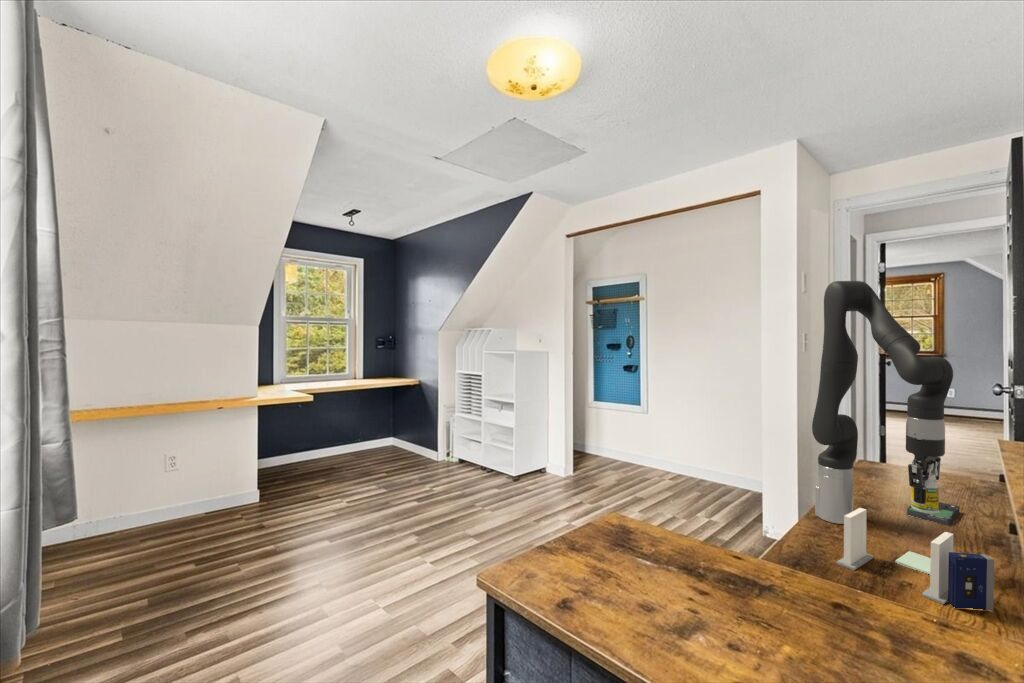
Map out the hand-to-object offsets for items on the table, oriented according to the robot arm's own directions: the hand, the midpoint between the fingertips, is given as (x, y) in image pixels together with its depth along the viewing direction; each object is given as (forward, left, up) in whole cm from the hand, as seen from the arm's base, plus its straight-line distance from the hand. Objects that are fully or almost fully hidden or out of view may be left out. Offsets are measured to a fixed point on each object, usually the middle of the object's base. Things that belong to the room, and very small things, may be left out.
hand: (924, 499), depth 120 cm
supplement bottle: (0, 0, -3) cm, 3 cm away
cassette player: (+12, -13, -17) cm, 25 cm away
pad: (0, 0, -17) cm, 17 cm away
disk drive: (-10, +41, -18) cm, 45 cm away
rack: (-2, -11, -17) cm, 21 cm away
